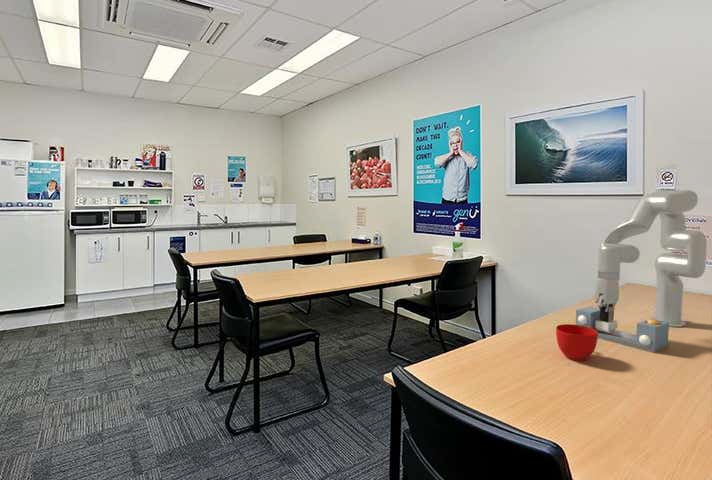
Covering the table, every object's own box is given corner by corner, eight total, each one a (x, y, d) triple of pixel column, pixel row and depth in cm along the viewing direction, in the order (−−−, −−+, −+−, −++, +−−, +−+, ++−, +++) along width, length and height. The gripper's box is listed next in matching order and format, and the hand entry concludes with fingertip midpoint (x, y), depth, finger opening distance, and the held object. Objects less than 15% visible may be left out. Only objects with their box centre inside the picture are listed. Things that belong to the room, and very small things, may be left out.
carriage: (604, 327, 170) (605, 304, 169) (616, 330, 165) (618, 306, 164) (595, 330, 166) (596, 306, 165) (607, 333, 162) (609, 309, 161)
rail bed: (589, 327, 177) (590, 306, 176) (667, 347, 152) (669, 322, 151) (574, 332, 171) (575, 310, 170) (653, 353, 146) (654, 327, 145)
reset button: (649, 326, 154) (650, 318, 153) (660, 328, 151) (661, 320, 150) (645, 327, 152) (645, 319, 151) (656, 330, 149) (656, 322, 148)
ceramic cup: (589, 349, 151) (590, 323, 150) (600, 366, 135) (602, 337, 134) (551, 345, 155) (552, 320, 154) (557, 361, 139) (558, 333, 138)
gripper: (609, 272, 171) (607, 315, 173) (588, 276, 162) (586, 321, 164) (628, 275, 165) (626, 319, 166) (607, 279, 156) (605, 325, 158)
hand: (606, 319), depth 165 cm, fingers closed on carriage, 3 cm apart
